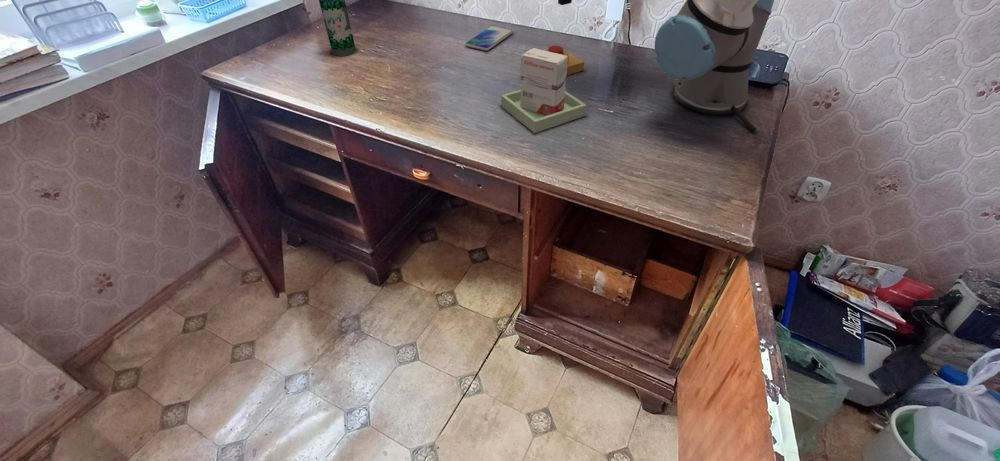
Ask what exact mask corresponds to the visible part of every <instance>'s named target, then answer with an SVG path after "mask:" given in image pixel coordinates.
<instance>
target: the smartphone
mask: <svg viewBox="0 0 1000 461" xmlns="http://www.w3.org/2000/svg"><path fill="white" fill-rule="evenodd" d="M513 33H514V31H513V30H512V29H510V28H505V27H501V26H497V25H490V26H489V27H487V28H486V29H484V30H483V31H481V32H480V33H478V34H477V35H475V36H474V37H472V38H470V39H468V41H466V42H465V46H466V47H468V48H473V49H477V50H480V51H486V52H487V51H489V50H491V49H492V48H494V47H495V46H496V45H498V44H500V43H501V42H502V41H504V40H505V39H507V38H508V37H509V36H511V35H512V34H513Z"/></svg>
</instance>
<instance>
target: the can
mask: <svg viewBox="0 0 1000 461" xmlns="http://www.w3.org/2000/svg"><path fill="white" fill-rule="evenodd" d="M318 3H319V7H320V10H321V15H322V18H323V22H324V26H325V30H326V33H327V38H328V41H329V45H330V50H331V53H332V55H334V56H338V57H340V56H341V57H345V56H349V55H352V54H354V53H356V51H357V49H356V45H355V39H354V35H353V30H352V27H351V22H350V16H349V12H348V8H347V4H346V0H318Z"/></svg>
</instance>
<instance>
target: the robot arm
mask: <svg viewBox="0 0 1000 461" xmlns="http://www.w3.org/2000/svg"><path fill="white" fill-rule="evenodd" d="M572 2H573V1H572V0H557V4H558V5H561V6H565V5H569V4H572ZM774 4H775V0H685V2H684V3H683V5H682V7H680V10H679V11H678V13H677V14H676V15H674V16H671V17H669V18H668V19H667V20H666V21H665V22H663V24H662V25H661V26H660V27H659V28H658V30H657V33H656V35H655V39H654V52H655V55H656V60H657V62H658V64H659V66H660V67H661V69H662V70H663V72H665V73H666V74H667V75H669V76H670V77H671V78H673V79H675V80H677V81H676V83H675V85H674V86H675V87H674V90H673V97H674V99H675V100H676V101H677V102H678V103H679V104H680V105H682V106H684V107H685V108H687V109H690V110H692V111H694V112H698V113H701V114H707V115H715V116H723V115H724V116H725V115H733V114H735V115H736V116H737V117H738V118H739V120H740V121H741V122H742V123H743V124H744V125H745V127H746V128H748V129H749V130H750V131H751V132H753V133H754V132H756V131H757V127H756V126H755V125H753V123H752V122H750V121H749V119H748V118H747V117H746V116H745V115H744V114H743V113H742V112H741V111H742V110H743V109H744V108H745V106H746V103H747V101H748V98H749V75H750V74H749V73H750V72H749V70H750V68H751V65H752V63H753V59H754V57H755V54H756V52H757V49H758V46H759V44H760V42H761V39H762V36H763V34H764V31H765V28H766V26H767V23H768V21H769V18H770V15H772V9H773V6H774Z"/></svg>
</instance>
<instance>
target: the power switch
mask: <svg viewBox="0 0 1000 461" xmlns="http://www.w3.org/2000/svg"><path fill="white" fill-rule="evenodd" d="M544 51H548V49H546V50H544ZM563 55H566V56H568V63H567V75H566V76H570V75H572V74H573V75H574V74H576V73H579V72H583V71H584V68H585V61H583V60H582V59H580V58H579V57H576V56H574V55H573V54H571V53H569V52H568V51H566V50H564V49H563Z"/></svg>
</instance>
